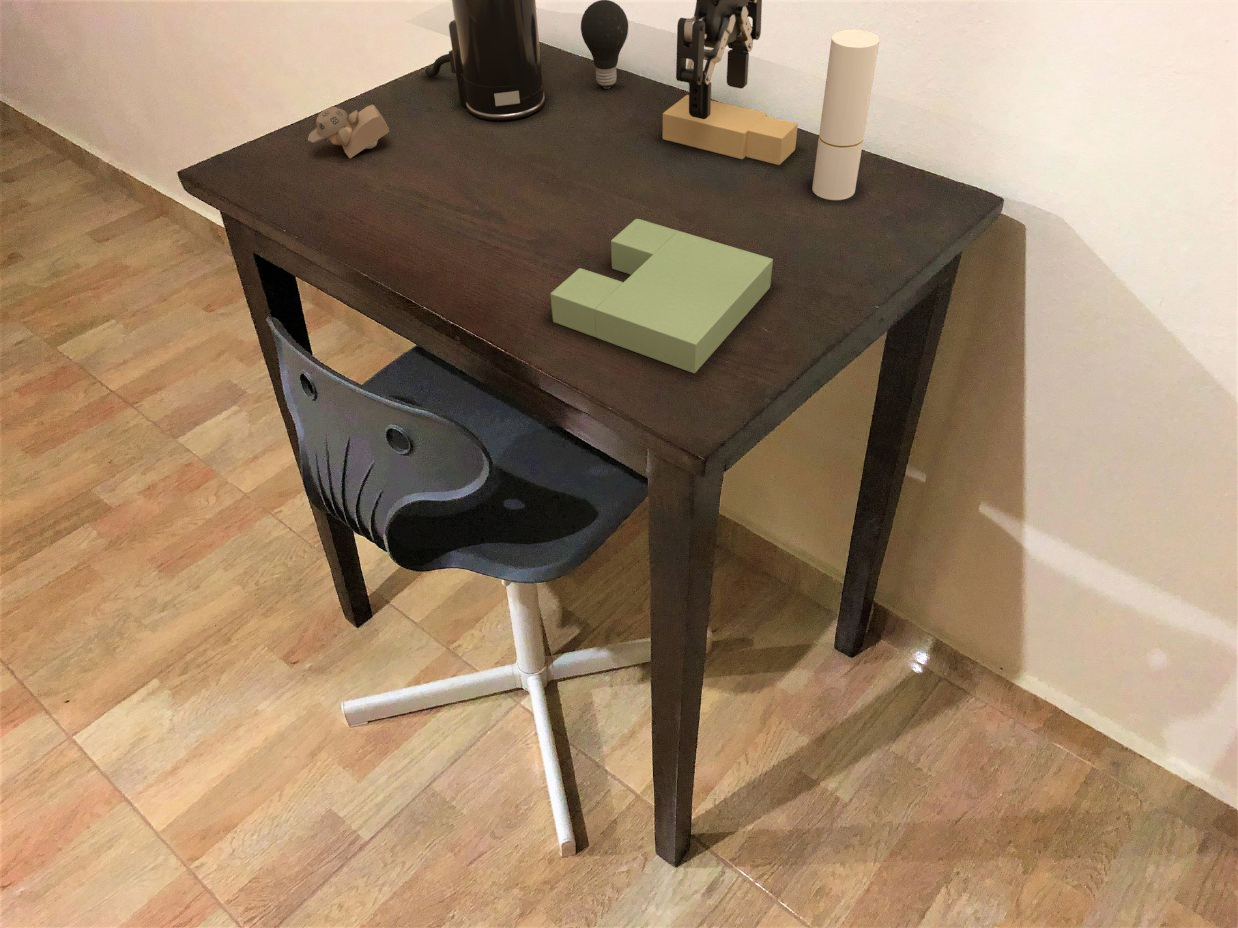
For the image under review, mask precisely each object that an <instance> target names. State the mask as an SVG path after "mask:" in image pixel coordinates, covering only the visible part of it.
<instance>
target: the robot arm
mask: <svg viewBox="0 0 1238 928" xmlns="http://www.w3.org/2000/svg"><path fill="white" fill-rule="evenodd" d="M536 3H537V2H536V0H451V5H452V11H453V17H454V19H453V20H451V21H449V24H448V32H449V37H450V44H451V49H450V50H449V51H448V53H447V54H443V55H440V56H438V57H437V58H436V59H435V60H434V62H433V65H432V68H431V67H429V66H428V67H426V68H425V69H424V74H425V75H427V76H429V77H436V76H437V75H438V74H439V73H440V71H441V68H442V66H443V65H444V64H446V63H450V70H451V73H452V74H455V77H456V84H457V89H458V96H459V103H460V106H461V107H465V108H466V110H467V112H468V113H470V114H471V115H473V116H475V117H476V118H480V119H482V120H483V119H484V120H489V121H510V120H517V119H522V118H525V117H529V116H531V115H533V114H535V113H537V112H538V111H540V110H541V109H542V108H543V107H544V105H545V102H546V97H545V91H544V83H543V73H542V60H541V59H542V58H541V48H540V37H539V27H538V15H537V5H536ZM762 7H763V0H696V2H695V9H694V13H693V16H692V17H691V18H688V17H687V18H686V17H680V18H679V19H678V21H677V26H676V29H677V30H676V33H677V34H676V61H675V62H676V63H675V64H676V65H675V79H676V81H677V82H681V83H682V82H683V83H687V84H688V95H689V114H690V115H691V116H692V117H696V118H700V119H706V118H707V117H708V116H710V111H711V100H712V82H711V80H712V77H713V73H714V70H715V68H716V64H718V63H720V62H721V61H722V59H723V55H724V52H725V49H726V47H728V49H729V50H728V51H727V61H726V62H727V63H726V84H727V85H728V87H731V88H737V89H744V88H745V87H746V86H747V85H748V80H749V79H748V78H749V61H750V60H749V58H750V53H751V52H752V50H753V47H754V40H755V41H758V40H759V39H760V37H761V34H762ZM749 18H751V20H752V24H751V21H750V19H749ZM706 48H710V49H706ZM687 59H688V62H687ZM705 61H706V62H705ZM704 62H705V65H704Z"/></svg>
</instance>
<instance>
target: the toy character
mask: <svg viewBox="0 0 1238 928" xmlns="http://www.w3.org/2000/svg"><path fill="white" fill-rule="evenodd" d="M388 133H390V128H389V126H388V124H387V122H386V121H385V118H384V117H383V115H382V114H381V113H380V111H379V110H378V108H377V107H376V106H375V104H370V105H367V106H366V107H364V108H363V109H361V110H360V111H358V110H357V109H355V110H353V111H352V112H351V113H349V114H348V113H347V112H346V110H344V109H342V108H339V107H337V106H333V105H332V106H330V107H327V108H325V109H323V110H322V111H321V112H320V113H318V115H317V117H316V128H314V129H313V130H312V131H311V132H309V134H308V138H307V141H308V142H309V143H311V144H316V143H317V142H320V141H322V140H324V142H328V143H330V144H331V145H336V146H342V149H343V152H344V153H345V154H346V156H347V157H348V159H352V158H353V157H355V156H356V155H358V154H359V153H360V152H362V151H364V150H372V149H373V148H375V147H376V146H377V144H378V141H379V140H380V139H381V138H383V137H384V136H386V135H387V134H388Z"/></svg>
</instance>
